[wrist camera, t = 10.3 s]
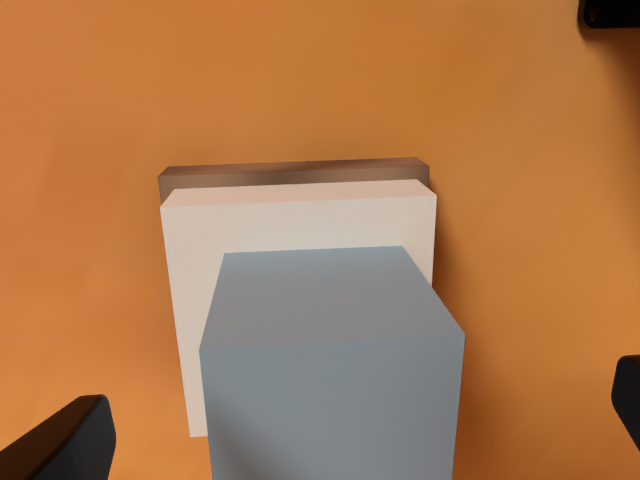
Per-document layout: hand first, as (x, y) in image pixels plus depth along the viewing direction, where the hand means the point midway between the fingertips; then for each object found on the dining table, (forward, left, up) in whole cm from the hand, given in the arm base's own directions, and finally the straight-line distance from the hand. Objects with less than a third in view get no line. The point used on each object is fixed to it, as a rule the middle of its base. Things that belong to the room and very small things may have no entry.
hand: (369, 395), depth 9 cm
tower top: (+1, +3, -11) cm, 12 cm away
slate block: (0, +3, -9) cm, 9 cm away
